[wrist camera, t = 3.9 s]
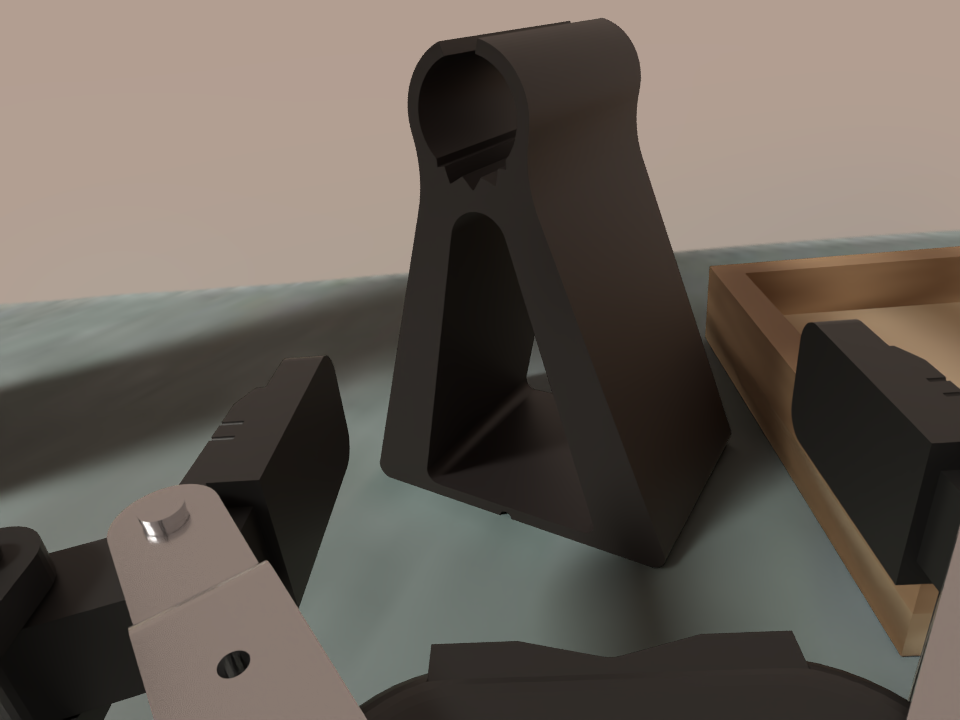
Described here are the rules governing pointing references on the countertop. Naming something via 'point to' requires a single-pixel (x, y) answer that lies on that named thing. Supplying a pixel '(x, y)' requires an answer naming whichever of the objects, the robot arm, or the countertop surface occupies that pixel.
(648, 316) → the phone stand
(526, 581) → the countertop surface
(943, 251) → the shallow tray
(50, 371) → the countertop surface
